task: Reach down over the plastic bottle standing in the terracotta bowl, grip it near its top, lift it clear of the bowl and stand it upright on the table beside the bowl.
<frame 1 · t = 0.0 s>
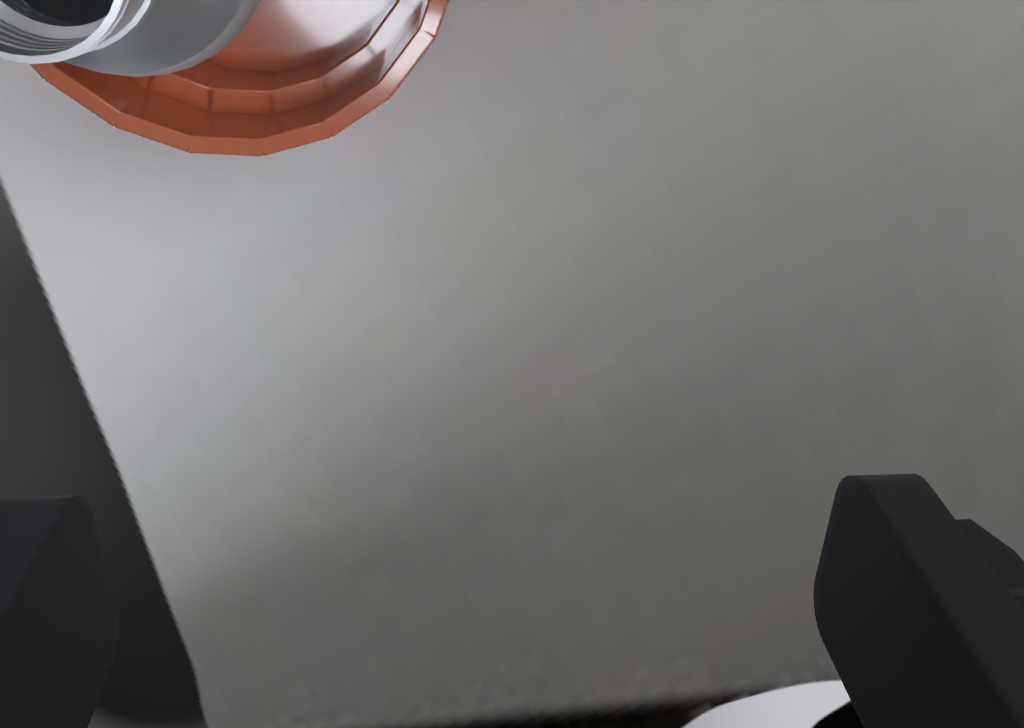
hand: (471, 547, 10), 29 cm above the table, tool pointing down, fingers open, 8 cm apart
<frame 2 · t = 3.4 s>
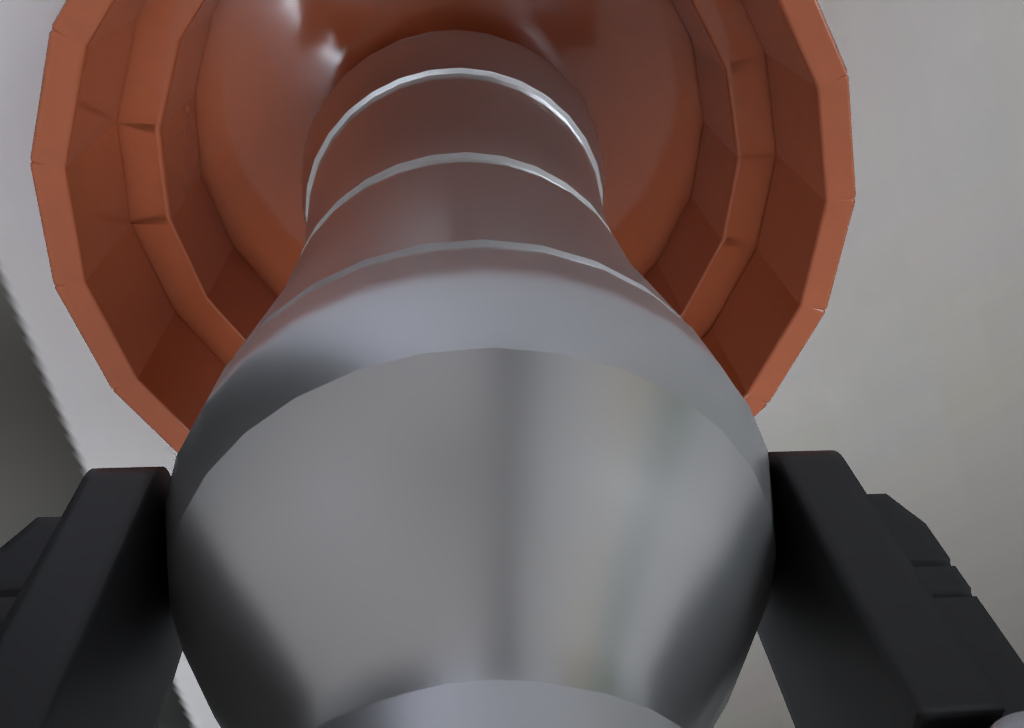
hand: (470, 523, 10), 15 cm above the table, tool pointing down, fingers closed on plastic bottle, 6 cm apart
bowl: (453, 143, 23), on the table
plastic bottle: (453, 145, 23), resting on bowl, touching gripper
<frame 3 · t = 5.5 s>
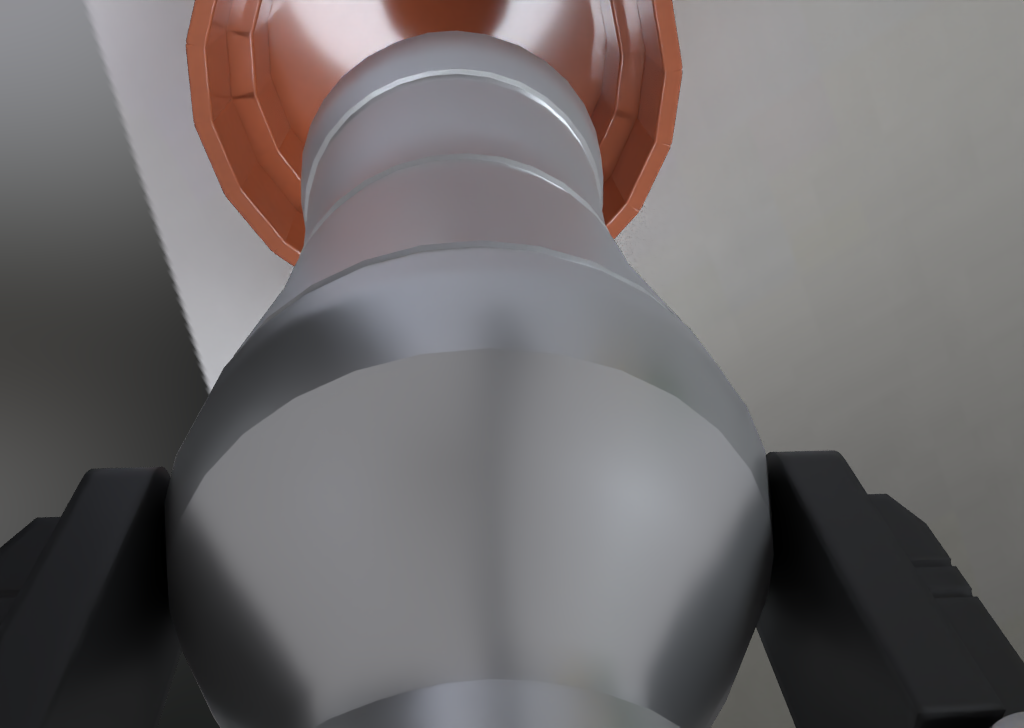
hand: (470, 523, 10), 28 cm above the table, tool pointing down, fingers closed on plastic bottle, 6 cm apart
bowl: (439, 55, 34), on the table
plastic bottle: (452, 146, 23), point 13 cm above the table, touching gripper
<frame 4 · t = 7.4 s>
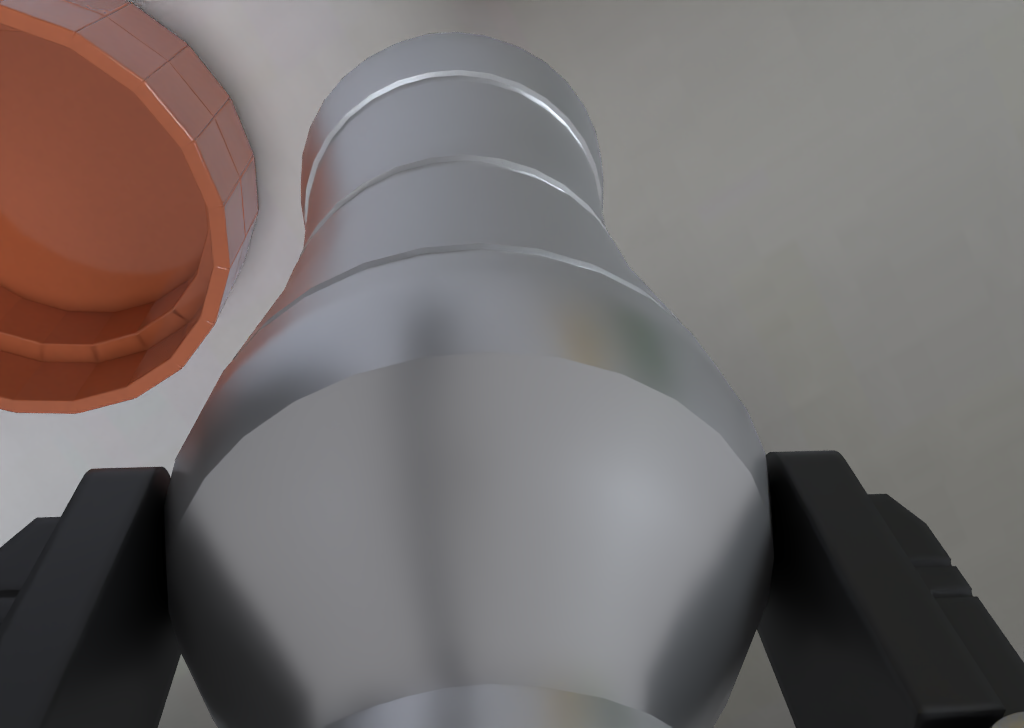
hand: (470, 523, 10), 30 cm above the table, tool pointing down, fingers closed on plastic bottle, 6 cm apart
bowl: (70, 172, 38), on the table
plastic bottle: (452, 147, 23), point 15 cm above the table, touching gripper
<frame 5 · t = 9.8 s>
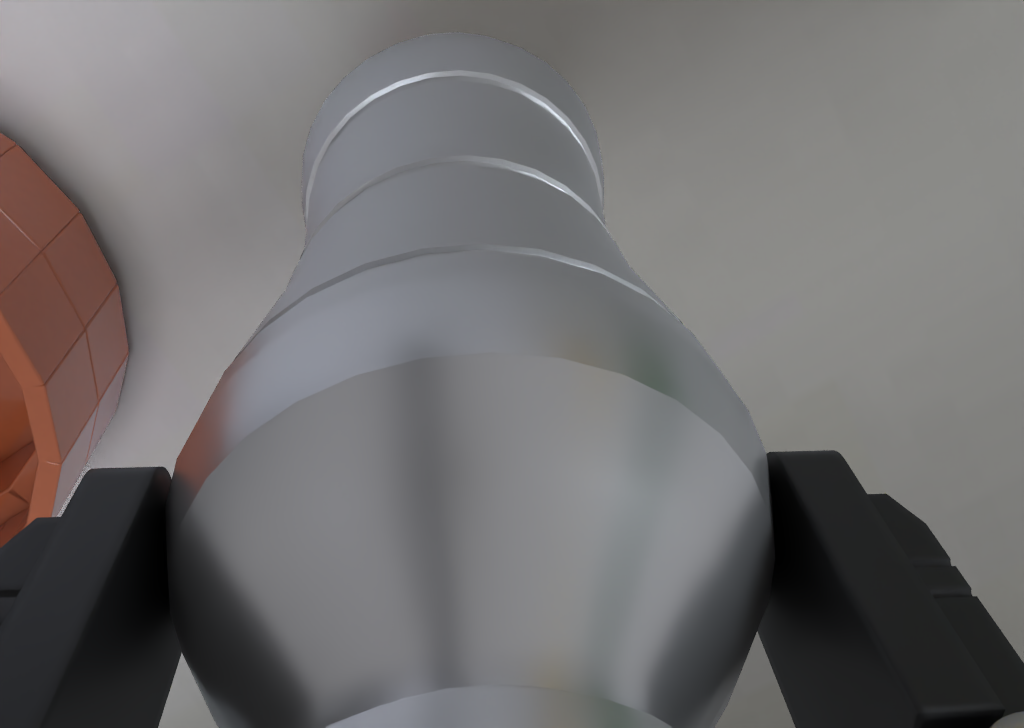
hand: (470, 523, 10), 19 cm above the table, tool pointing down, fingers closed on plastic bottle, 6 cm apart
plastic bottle: (453, 147, 23), point 4 cm above the table, touching gripper
when the fingers open (14 cm above the table, at t = 11.5 s): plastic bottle stays where it is, on the table.
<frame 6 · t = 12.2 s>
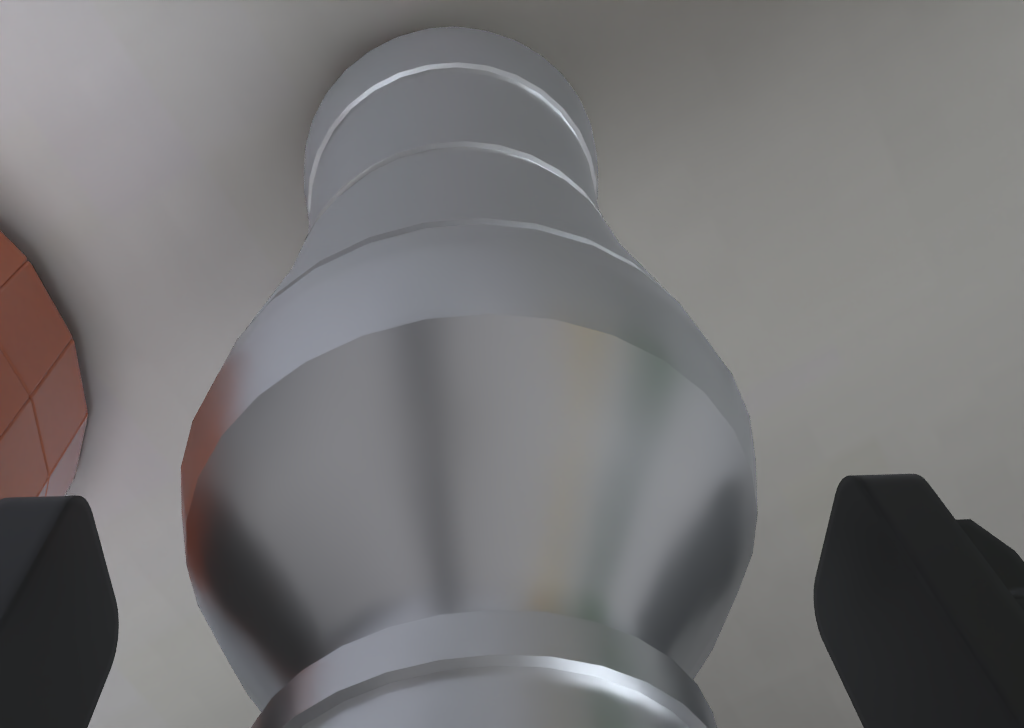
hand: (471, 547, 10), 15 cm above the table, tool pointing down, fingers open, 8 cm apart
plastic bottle: (451, 140, 23), on the table
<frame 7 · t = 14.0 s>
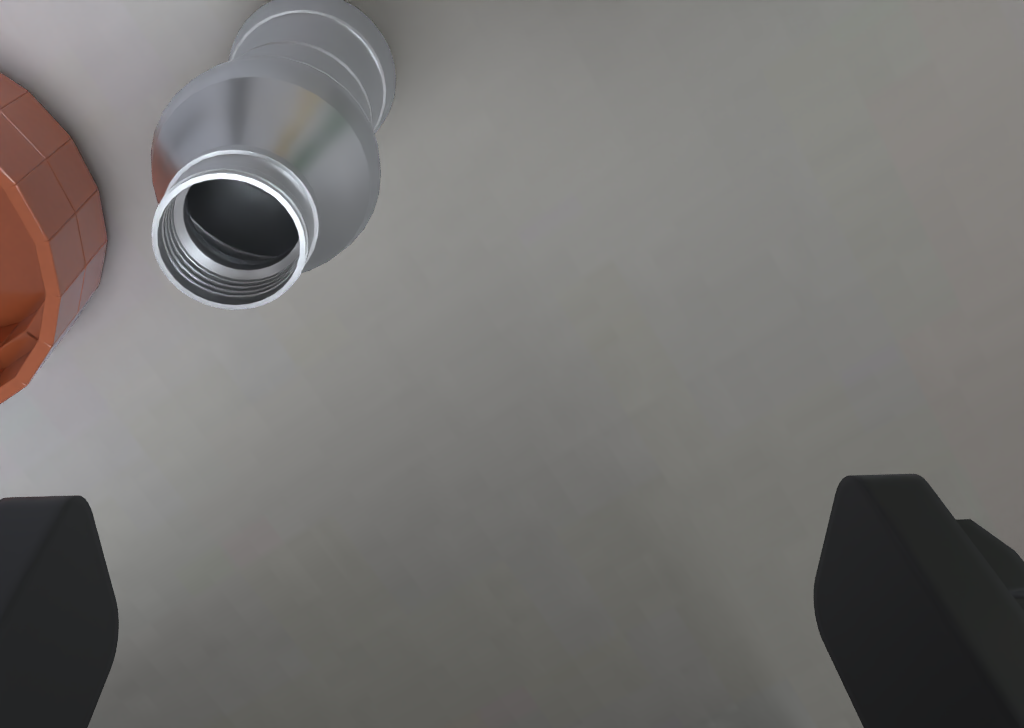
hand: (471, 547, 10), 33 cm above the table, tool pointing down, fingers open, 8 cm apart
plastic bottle: (321, 63, 40), on the table
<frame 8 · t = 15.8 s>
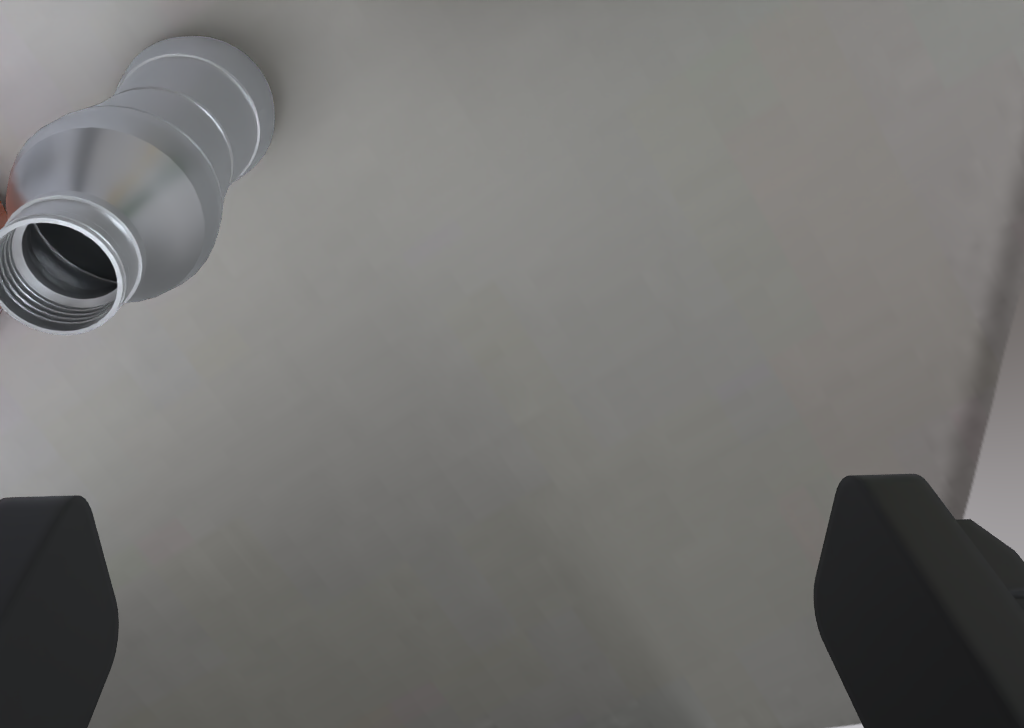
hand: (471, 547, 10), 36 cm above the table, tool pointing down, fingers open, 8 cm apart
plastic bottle: (211, 97, 43), on the table
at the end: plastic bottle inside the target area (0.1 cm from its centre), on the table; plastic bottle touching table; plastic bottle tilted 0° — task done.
